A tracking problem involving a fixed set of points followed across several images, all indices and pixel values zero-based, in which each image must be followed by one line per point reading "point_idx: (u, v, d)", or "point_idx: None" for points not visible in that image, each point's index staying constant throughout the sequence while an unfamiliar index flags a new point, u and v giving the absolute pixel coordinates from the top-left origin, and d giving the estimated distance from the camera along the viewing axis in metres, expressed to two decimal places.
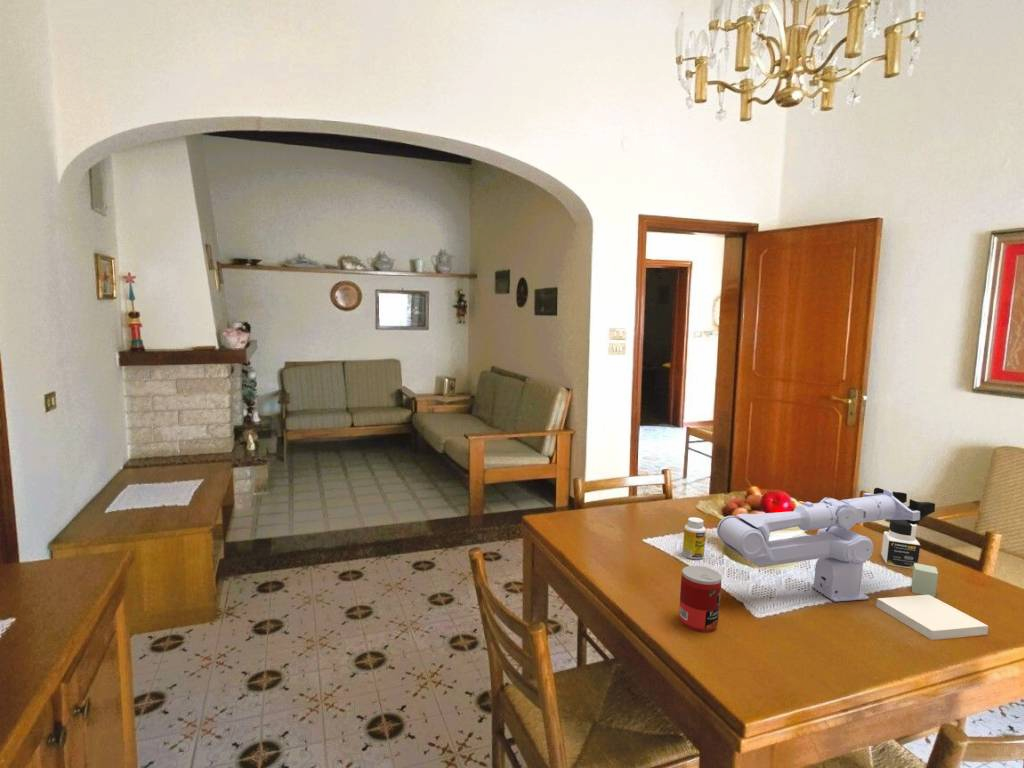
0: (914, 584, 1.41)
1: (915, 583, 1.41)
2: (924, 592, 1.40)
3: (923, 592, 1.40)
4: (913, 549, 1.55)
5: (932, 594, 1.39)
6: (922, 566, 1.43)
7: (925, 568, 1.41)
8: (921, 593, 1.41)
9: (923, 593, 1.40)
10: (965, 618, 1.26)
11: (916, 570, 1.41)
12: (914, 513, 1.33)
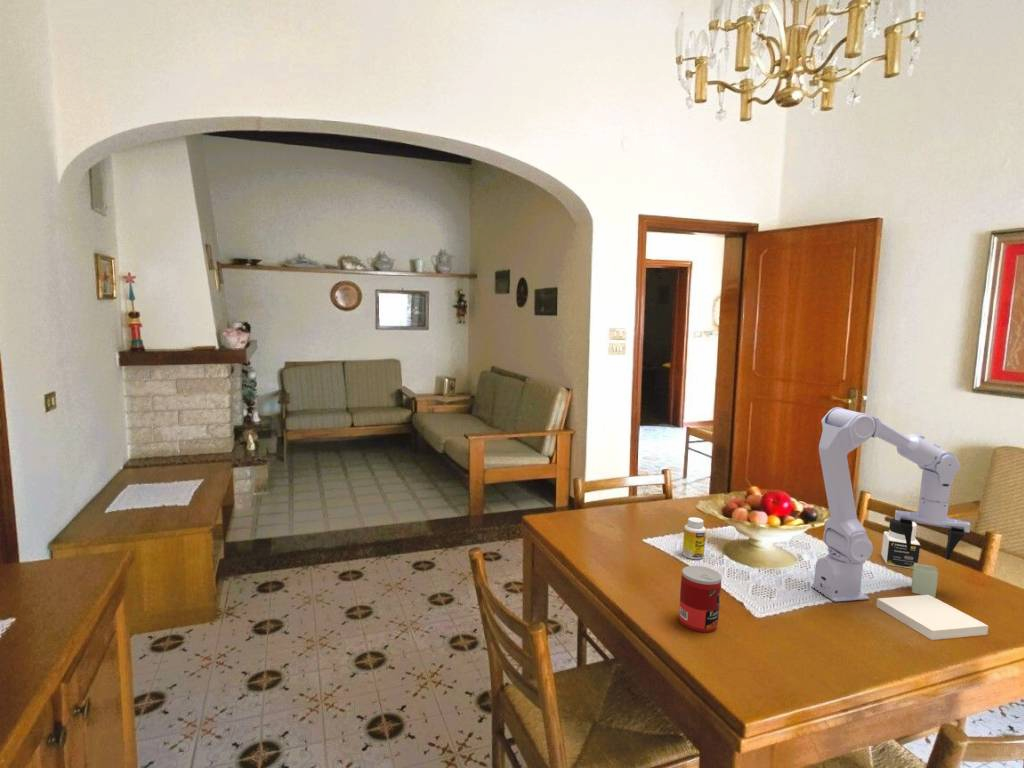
0: (914, 584, 1.41)
1: (915, 583, 1.41)
2: (924, 592, 1.40)
3: (923, 592, 1.40)
4: (913, 549, 1.55)
5: (932, 594, 1.39)
6: (922, 566, 1.43)
7: (925, 568, 1.41)
8: (921, 593, 1.41)
9: (923, 593, 1.40)
10: (965, 618, 1.26)
11: (916, 570, 1.41)
12: None
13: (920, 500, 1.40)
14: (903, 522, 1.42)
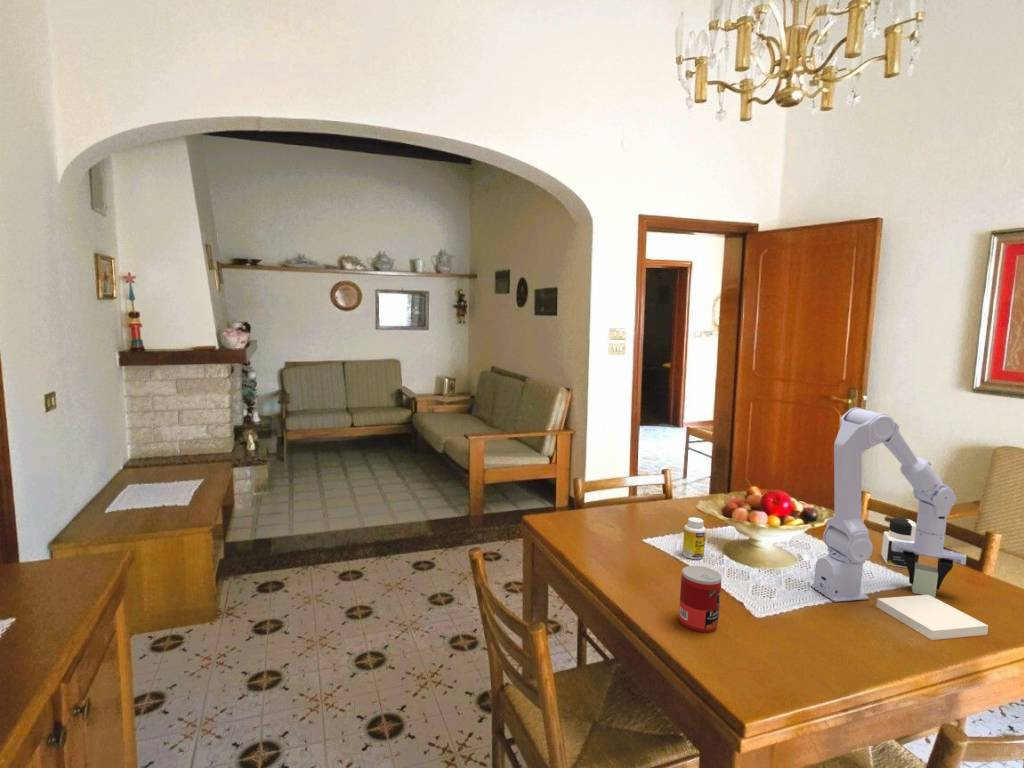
0: (914, 584, 1.41)
1: (915, 583, 1.41)
2: (924, 592, 1.40)
3: (923, 592, 1.40)
4: None
5: (932, 594, 1.39)
6: (923, 566, 1.43)
7: (925, 568, 1.41)
8: (921, 593, 1.41)
9: (923, 593, 1.40)
10: (965, 618, 1.26)
11: (916, 570, 1.41)
12: None
13: (916, 532, 1.41)
14: (906, 554, 1.42)
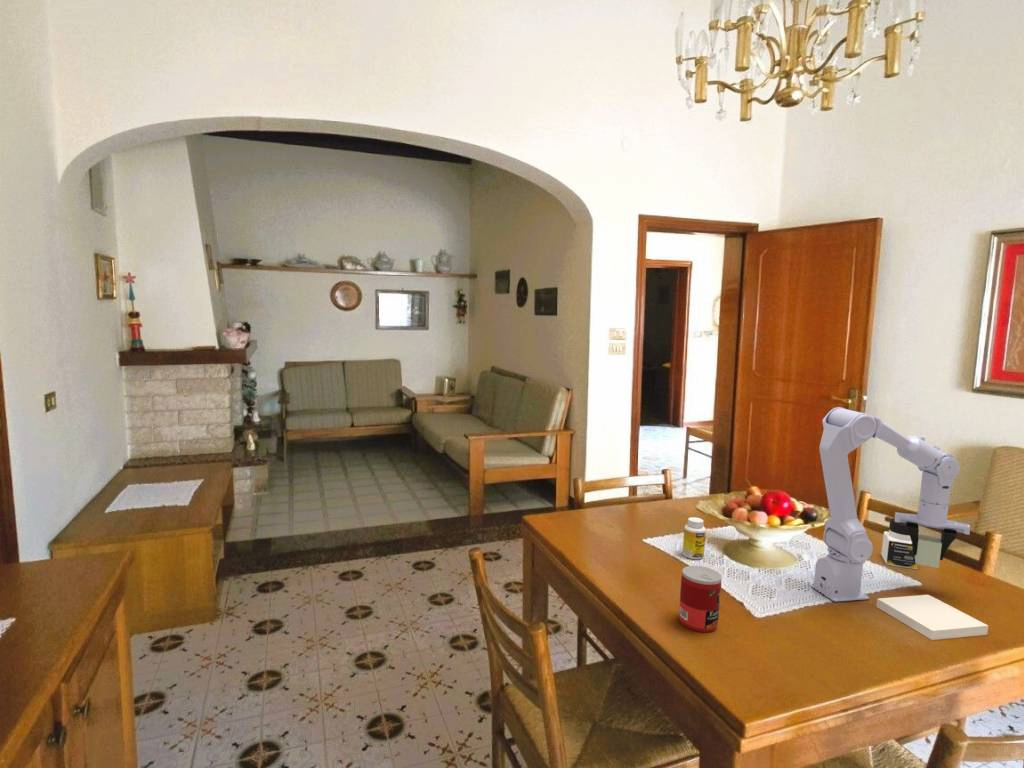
0: (917, 555, 1.40)
1: (918, 553, 1.40)
2: (927, 562, 1.39)
3: (926, 562, 1.40)
4: None
5: (936, 564, 1.39)
6: (926, 537, 1.42)
7: (929, 539, 1.40)
8: (924, 564, 1.40)
9: (926, 564, 1.40)
10: (965, 618, 1.26)
11: (919, 540, 1.40)
12: None
13: (920, 502, 1.40)
14: (909, 525, 1.42)
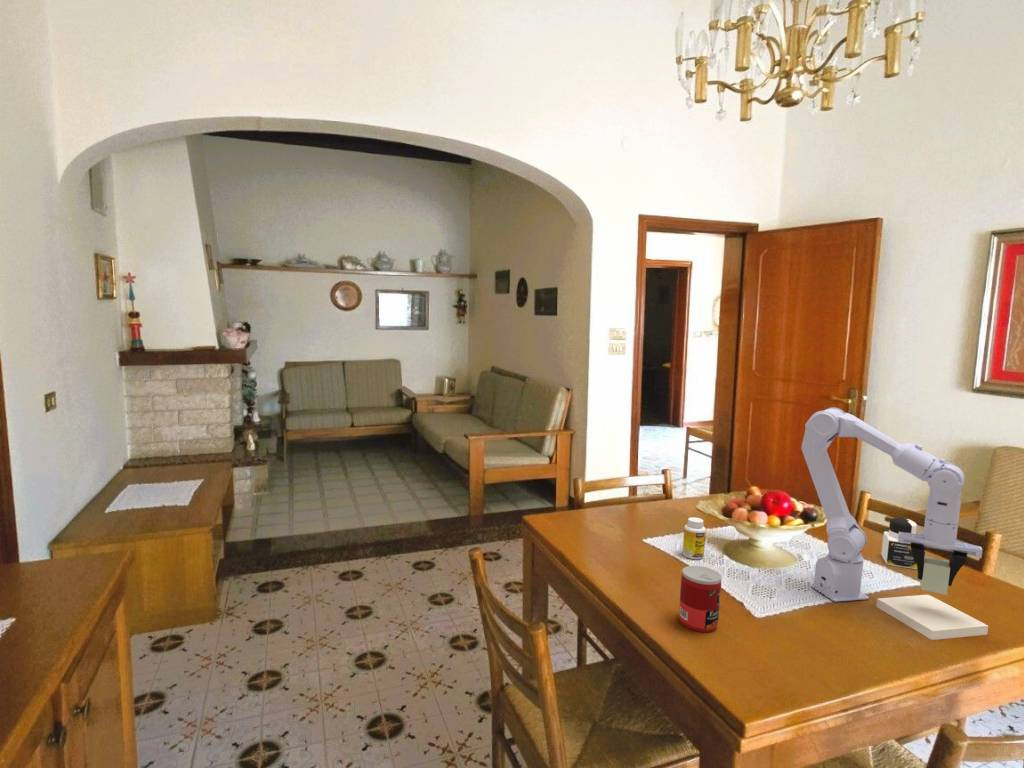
0: (923, 579, 1.27)
1: (924, 578, 1.27)
2: (934, 588, 1.26)
3: (933, 588, 1.26)
4: None
5: (943, 591, 1.25)
6: (932, 559, 1.28)
7: (936, 562, 1.27)
8: (931, 589, 1.26)
9: (933, 589, 1.26)
10: (965, 618, 1.26)
11: (925, 564, 1.26)
12: None
13: (926, 521, 1.26)
14: (914, 547, 1.28)
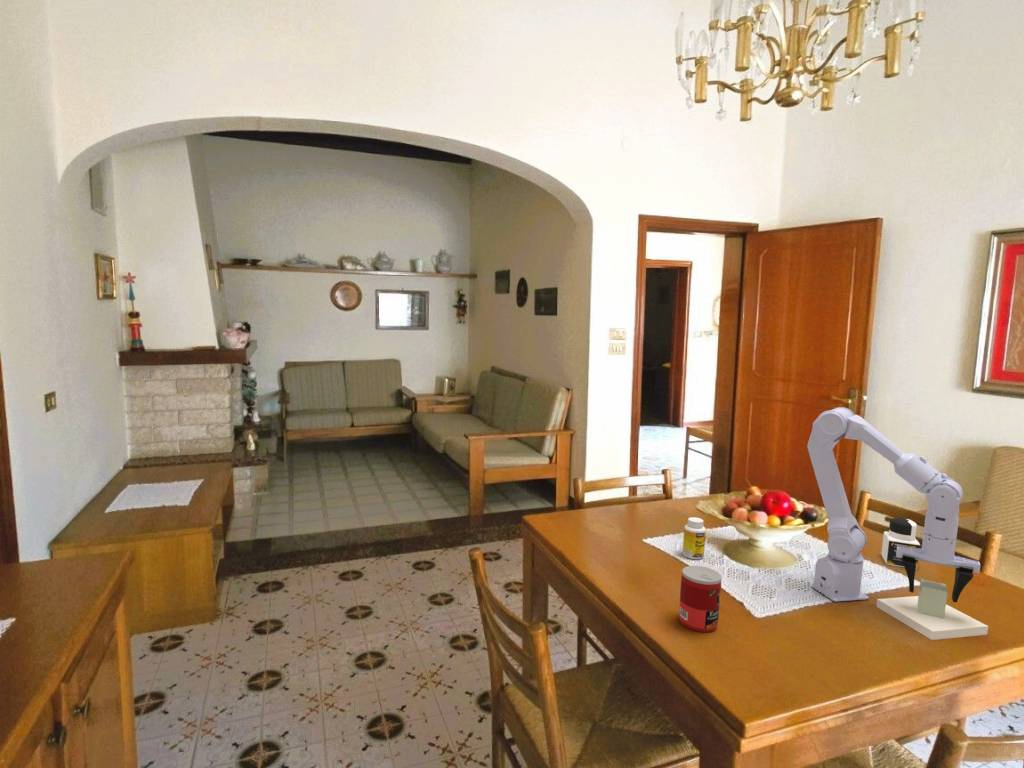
0: (920, 603, 1.27)
1: (921, 602, 1.27)
2: (932, 612, 1.26)
3: (930, 612, 1.26)
4: None
5: (941, 614, 1.26)
6: (930, 583, 1.29)
7: (933, 585, 1.27)
8: (928, 613, 1.27)
9: (930, 613, 1.27)
10: (965, 618, 1.26)
11: (923, 587, 1.27)
12: None
13: (924, 536, 1.27)
14: (905, 560, 1.29)
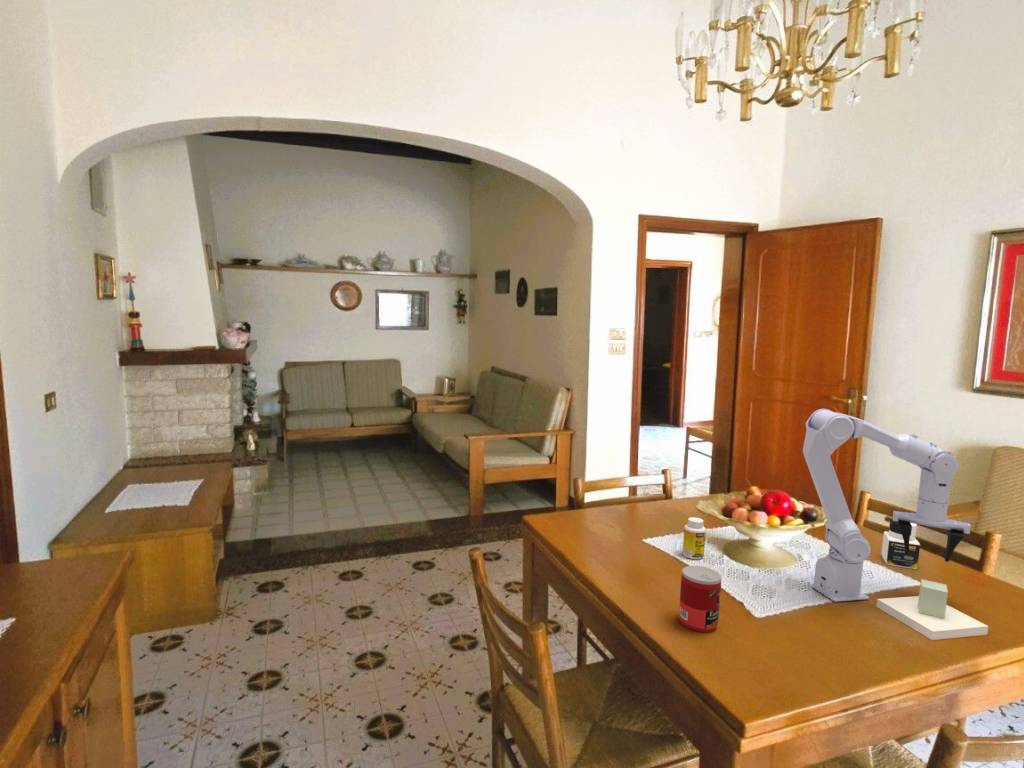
0: (921, 603, 1.27)
1: (921, 602, 1.27)
2: (932, 612, 1.26)
3: (931, 612, 1.26)
4: (913, 549, 1.55)
5: (941, 615, 1.25)
6: (931, 583, 1.29)
7: (934, 586, 1.27)
8: (928, 613, 1.27)
9: (931, 613, 1.26)
10: (965, 618, 1.26)
11: (923, 588, 1.27)
12: None
13: (918, 500, 1.36)
14: (901, 523, 1.38)
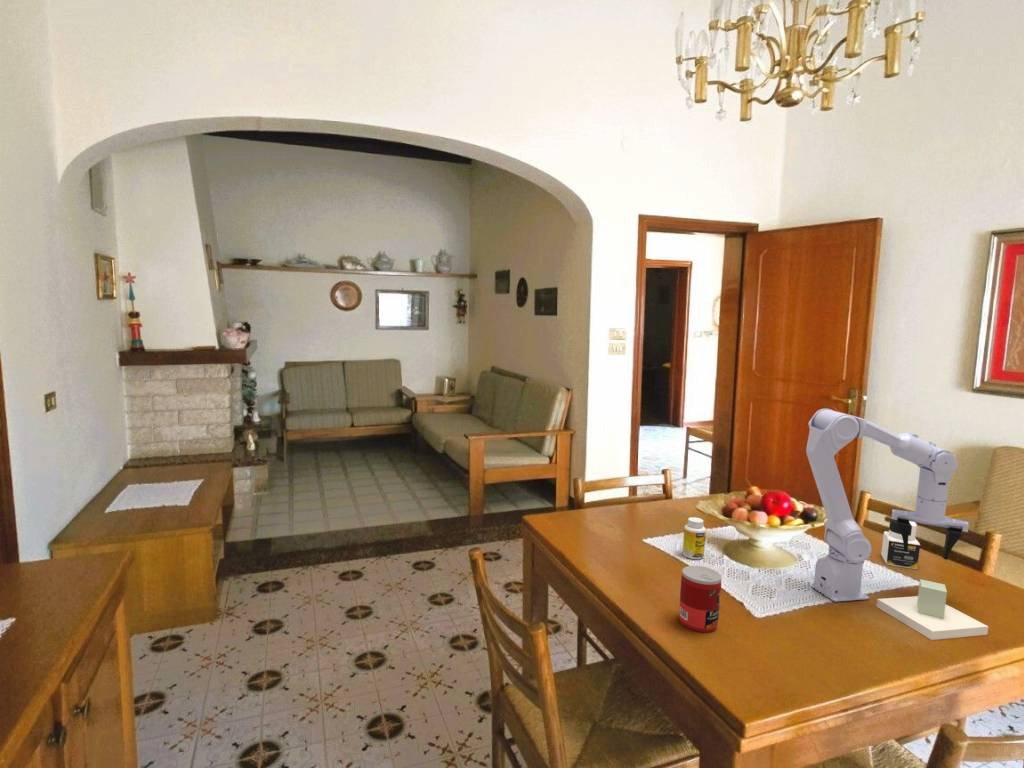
0: (920, 603, 1.27)
1: (921, 602, 1.27)
2: (931, 612, 1.26)
3: (930, 612, 1.26)
4: (913, 549, 1.55)
5: (940, 615, 1.25)
6: (929, 583, 1.29)
7: (932, 586, 1.27)
8: (928, 613, 1.27)
9: (930, 613, 1.26)
10: (965, 618, 1.26)
11: (922, 588, 1.27)
12: None
13: (917, 499, 1.38)
14: (900, 521, 1.40)
